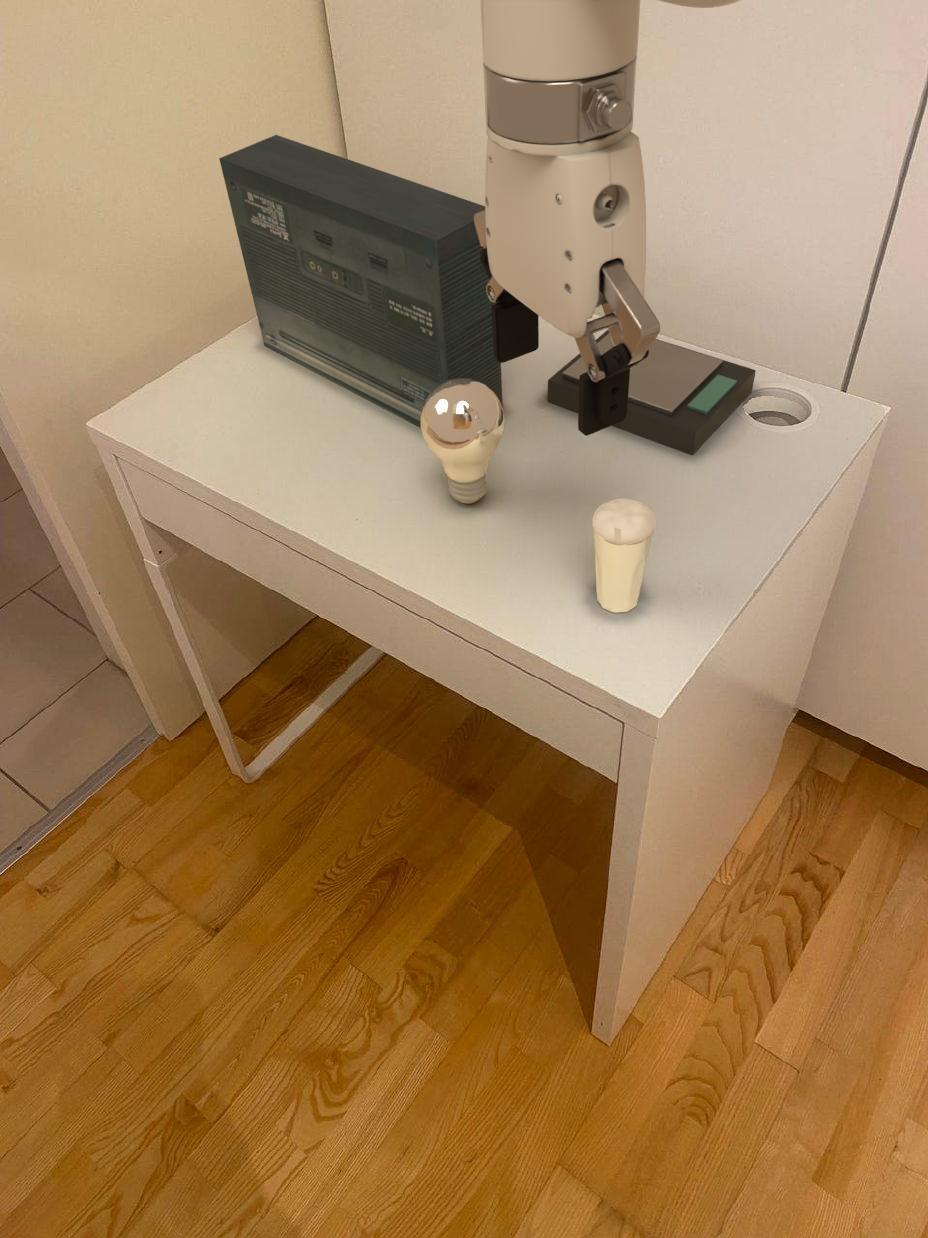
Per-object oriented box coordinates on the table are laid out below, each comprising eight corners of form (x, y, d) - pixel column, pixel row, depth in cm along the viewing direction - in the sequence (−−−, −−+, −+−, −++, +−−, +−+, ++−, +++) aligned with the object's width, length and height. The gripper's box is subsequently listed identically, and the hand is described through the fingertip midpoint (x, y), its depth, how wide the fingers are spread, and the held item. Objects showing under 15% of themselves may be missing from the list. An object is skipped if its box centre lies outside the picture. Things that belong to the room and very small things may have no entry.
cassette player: (502, 411, 94) (494, 209, 80) (453, 444, 91) (436, 240, 76) (312, 319, 109) (276, 134, 94) (264, 345, 106) (219, 158, 91)
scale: (752, 392, 94) (757, 364, 91) (692, 455, 87) (696, 427, 85) (611, 346, 101) (613, 319, 99) (547, 401, 95) (547, 374, 92)
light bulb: (457, 537, 82) (446, 420, 73) (415, 496, 86) (400, 380, 77) (523, 504, 84) (520, 387, 75) (479, 466, 88) (471, 351, 80)
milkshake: (581, 621, 74) (584, 524, 67) (595, 574, 78) (600, 477, 70) (639, 631, 73) (650, 533, 66) (651, 583, 77) (662, 485, 69)
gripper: (732, 128, 44) (691, 435, 56) (529, 40, 55) (533, 314, 67) (597, 171, 42) (586, 480, 54) (414, 70, 52) (440, 348, 65)
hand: (557, 388), depth 61 cm, fingers open, 9 cm apart
